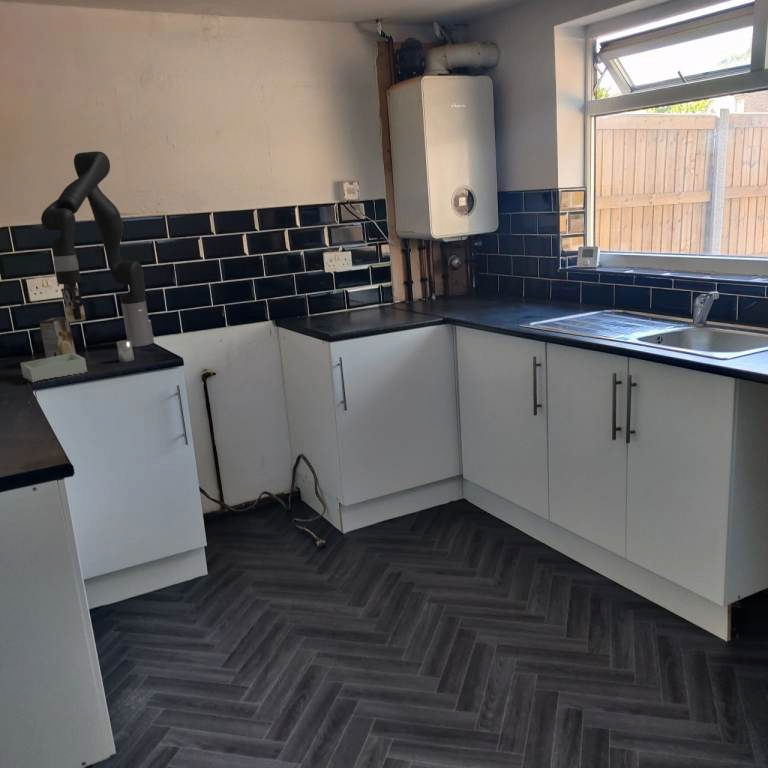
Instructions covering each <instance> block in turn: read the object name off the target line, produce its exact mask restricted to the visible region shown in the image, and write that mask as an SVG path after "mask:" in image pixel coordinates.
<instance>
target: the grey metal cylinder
mask: <svg viewBox="0 0 768 768" xmlns="http://www.w3.org/2000/svg"><path fill="white" fill-rule="evenodd" d="M116 347H117V352H118V359H119V362H121V363H126V362H131V361H134V360H135V357H134V356H135V355H134V351H133V350H134V349H133V347H132V344H131V340H127V339H125V340H119V341H116Z"/></svg>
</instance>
